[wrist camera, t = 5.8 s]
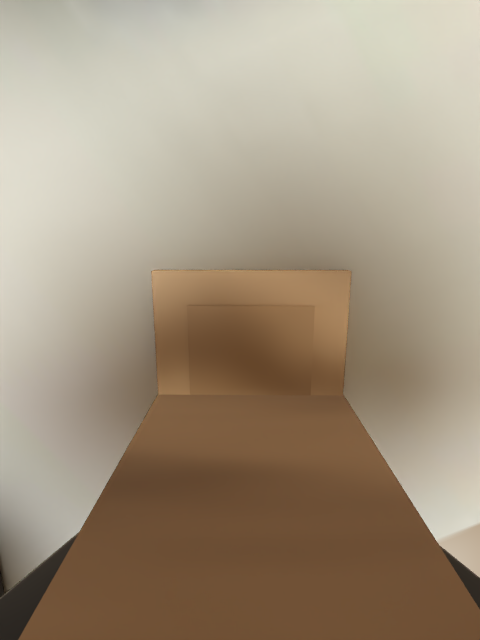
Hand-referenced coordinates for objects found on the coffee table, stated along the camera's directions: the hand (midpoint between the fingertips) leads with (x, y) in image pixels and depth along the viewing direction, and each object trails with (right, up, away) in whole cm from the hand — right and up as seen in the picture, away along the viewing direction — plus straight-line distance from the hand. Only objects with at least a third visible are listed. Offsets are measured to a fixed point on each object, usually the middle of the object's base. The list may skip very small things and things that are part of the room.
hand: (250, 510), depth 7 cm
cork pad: (0, +2, +9) cm, 9 cm away
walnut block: (0, 0, +1) cm, 1 cm away
